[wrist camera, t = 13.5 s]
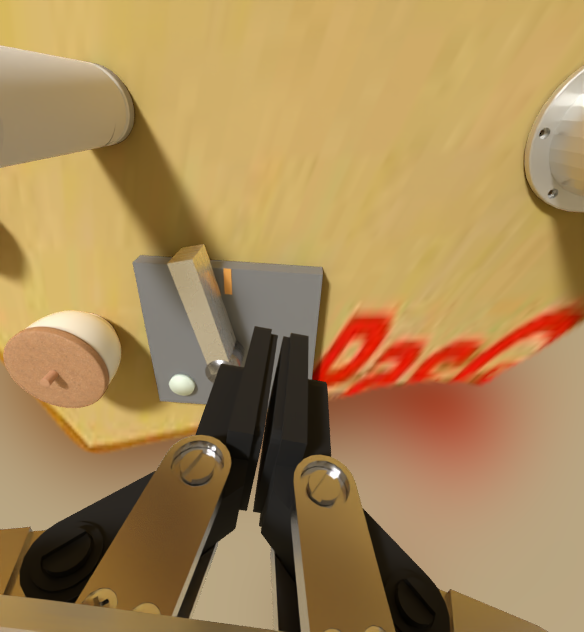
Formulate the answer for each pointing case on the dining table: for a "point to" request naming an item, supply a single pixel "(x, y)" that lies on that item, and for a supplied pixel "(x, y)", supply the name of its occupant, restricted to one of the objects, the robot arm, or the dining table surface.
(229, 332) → the light grey rectangular bar
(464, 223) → the dining table surface
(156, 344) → the base
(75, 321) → the lidded jar
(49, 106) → the travel mug
